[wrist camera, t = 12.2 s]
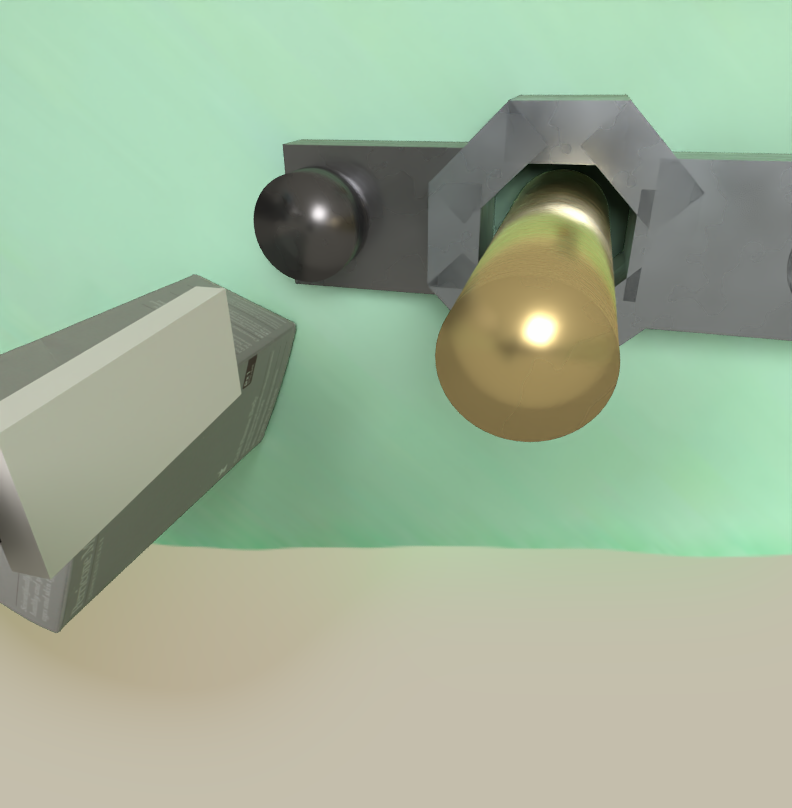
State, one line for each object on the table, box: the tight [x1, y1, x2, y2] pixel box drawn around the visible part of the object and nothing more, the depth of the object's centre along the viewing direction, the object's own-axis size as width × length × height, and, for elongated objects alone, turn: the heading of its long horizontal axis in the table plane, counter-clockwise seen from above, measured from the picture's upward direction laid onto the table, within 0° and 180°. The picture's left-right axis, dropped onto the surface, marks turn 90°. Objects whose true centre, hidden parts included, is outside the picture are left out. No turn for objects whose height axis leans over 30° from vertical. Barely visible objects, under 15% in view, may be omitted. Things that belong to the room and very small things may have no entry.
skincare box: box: [0, 274, 296, 633], centre depth 28 cm, size 8×7×16 cm
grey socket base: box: [254, 94, 792, 346], centre depth 25 cm, size 24×10×4 cm, turn 91°
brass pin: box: [435, 169, 620, 442], centre depth 20 cm, size 4×4×15 cm
